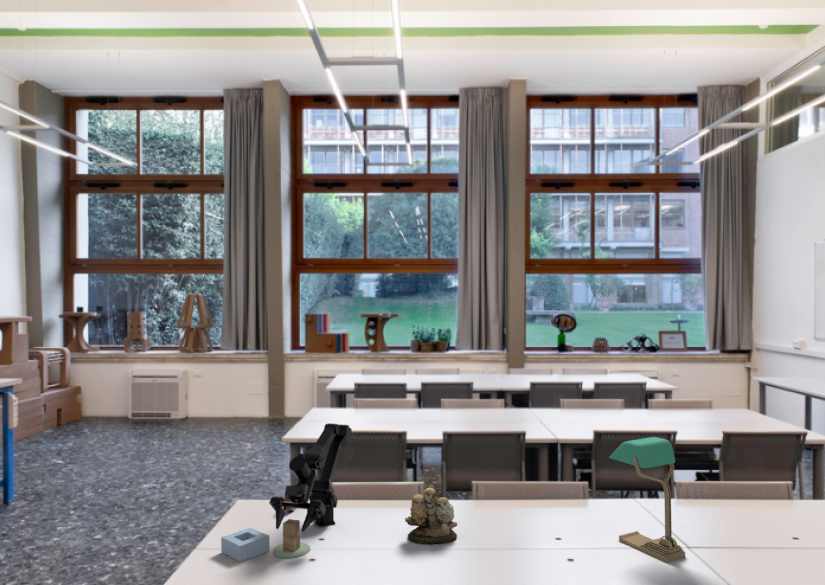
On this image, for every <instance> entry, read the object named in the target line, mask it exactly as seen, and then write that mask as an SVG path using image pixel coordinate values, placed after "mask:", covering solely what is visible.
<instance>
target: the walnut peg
mask: <svg viewBox="0 0 825 585" xmlns="http://www.w3.org/2000/svg"><path fill="white" fill-rule="evenodd" d="M300 522H301V521H300V519H291V518H289V519H287V520H285V521H284V522H283V523H282V544H283V551H287V552H295V551H296V550H298V549H299V548H300V542H301V523H300Z"/></svg>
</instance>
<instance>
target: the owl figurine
mask: <svg viewBox="0 0 825 585" xmlns="http://www.w3.org/2000/svg"><path fill="white" fill-rule="evenodd" d="M454 513H455V510H454V505H452V504H451V503H450V502H449V500H448V498H447V497H444V496H443V497H439V498H437V493H436V490H435V489H434V488H433V487H426V488H425V489H424V490H423V492H422V494H420V493H417V494H415V495H413V496H412V498H411V507H410V516H407V517H405V518H404V520H405V523H407V525H409V526H410V527H411V526H412V527H415V528H413V529H412V530H411V531H409V532H408V533H407V538H408V540H409V541H410V542H412V543H413V542H414V544H418V545H419V544H420V545H423V544H425V545H427V544H428V545H429V546H433V545H434V544H437V545H444V543H445V544H448V543H449V542H450V543H452V542H453V541H456V540H457V537H458V534H457V533H456V532H455V531H454V530H453V529H454V528H456V527H457V526H458V522H457V521H453V520H454V518H455V514H454Z"/></svg>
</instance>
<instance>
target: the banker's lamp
mask: <svg viewBox="0 0 825 585" xmlns="http://www.w3.org/2000/svg"><path fill="white" fill-rule="evenodd" d="M609 459H612V460H615V461H618V462H622V463H625V464H628V465H631V466H634V468H635V469H634V470H635V472H636V475H638V476H639V477H641V478H644V479H647V480H651V481H654V482H658V483H660V484H661V485H662V488H663V493H664V535H663V536H661V537H659V538H653V539H652V538H650V537H648V536H645V535H644V534H641V533H640V531H638V530H634V531H632V532H628V533H624V534H620V535H618V541H619V542H620V543H623V544H625V545H627V546H629V547H631V548H634V549H636V550H639V551H641V552H643V553H645V554H647V555H649V556H652V557H654V558H656V559H658V560H660V561H662V562H664V563H670V562H672V561H677V560H679V559H684V558H686V551H685V550H684V548H682V546H681V545H680V544H678V543H677V540H676V539H675V538H674V537H673V535H672V534H673V533H672V531H673V530H672V493H671V488H670V484H669V479H670V478H671V476H672V473H673V472H674V470H675V465H674V464H675V463H676V458H675V453H674V450H673V446H672V442H670V441H669V440H668V439H665V438H661V437H658V436H657V437H656V436H651V437H646V438H639V439H632V440H627V441H624V442H622V443H621V444H620V445H619V446H618V447H617V448H616V449H615V450H614V452H613V453H612V454H611V455H610V456H609ZM664 465H665V466H666V465H669V471H668V472H667V474H666V476H665V477H664V479H663V480H661V479H658V478H655V477H652V476H650V475H647V474H644V473H642V472H641V469H650V468H655V467H660V466H664ZM638 476H637V477H638Z"/></svg>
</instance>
